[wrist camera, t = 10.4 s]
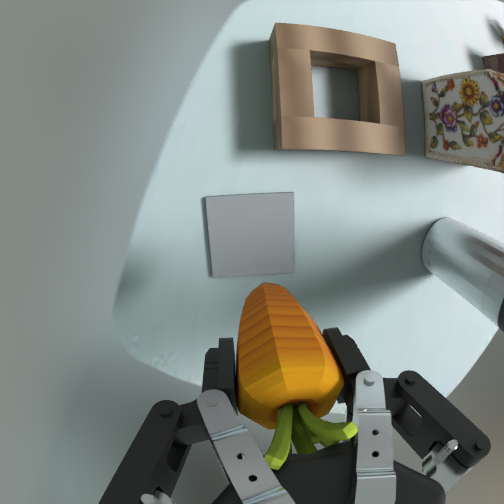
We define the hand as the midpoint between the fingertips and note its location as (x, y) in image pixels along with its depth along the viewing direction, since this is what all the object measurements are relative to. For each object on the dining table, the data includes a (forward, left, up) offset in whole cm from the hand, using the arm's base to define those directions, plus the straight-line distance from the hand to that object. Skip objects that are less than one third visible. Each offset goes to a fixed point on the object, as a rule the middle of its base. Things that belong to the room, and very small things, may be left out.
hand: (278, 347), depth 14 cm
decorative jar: (-30, -16, -20) cm, 39 cm away
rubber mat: (0, 0, -20) cm, 20 cm away
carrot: (0, 0, -7) cm, 7 cm away
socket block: (-10, -17, -20) cm, 28 cm away
